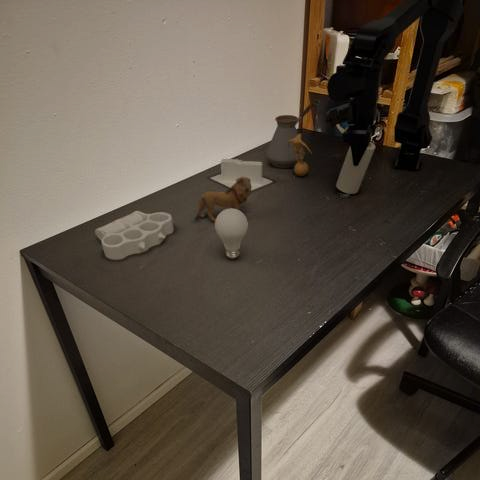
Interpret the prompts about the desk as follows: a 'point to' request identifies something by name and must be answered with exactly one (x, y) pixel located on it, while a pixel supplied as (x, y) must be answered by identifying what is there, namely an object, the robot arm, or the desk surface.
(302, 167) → the figurine
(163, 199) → the desk surface
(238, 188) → the lion figurine
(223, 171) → the napkin holder
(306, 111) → the coffee pot
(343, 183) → the paper towel roll
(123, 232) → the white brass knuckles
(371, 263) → the desk surface
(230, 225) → the light bulb
